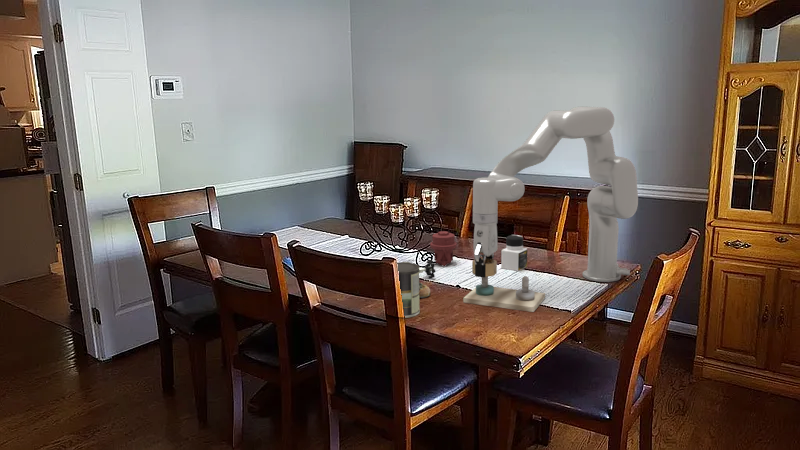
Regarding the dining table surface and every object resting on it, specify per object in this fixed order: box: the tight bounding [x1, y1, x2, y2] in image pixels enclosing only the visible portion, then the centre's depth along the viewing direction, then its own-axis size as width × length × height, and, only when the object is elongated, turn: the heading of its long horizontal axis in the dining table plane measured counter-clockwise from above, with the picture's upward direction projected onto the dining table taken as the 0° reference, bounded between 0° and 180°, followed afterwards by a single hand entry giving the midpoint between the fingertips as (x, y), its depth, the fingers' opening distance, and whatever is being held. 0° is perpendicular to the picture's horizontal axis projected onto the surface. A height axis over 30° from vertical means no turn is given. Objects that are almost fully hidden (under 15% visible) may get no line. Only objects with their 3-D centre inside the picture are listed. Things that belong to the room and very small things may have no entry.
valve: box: [407, 259, 436, 279], centre depth 216 cm, size 7×7×12 cm
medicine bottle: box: [500, 234, 528, 272], centre depth 227 cm, size 7×7×12 cm
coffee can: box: [396, 261, 421, 319], centre depth 183 cm, size 10×10×14 cm
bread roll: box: [419, 282, 431, 299], centre depth 201 cm, size 11×11×5 cm
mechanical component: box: [429, 230, 458, 267], centre depth 234 cm, size 12×10×10 cm
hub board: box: [462, 275, 546, 313], centre depth 192 cm, size 22×14×8 cm, turn 63°
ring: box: [471, 257, 498, 278], centre depth 194 cm, size 7×7×4 cm
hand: (484, 273), depth 194 cm, fingers closed on ring, 7 cm apart
